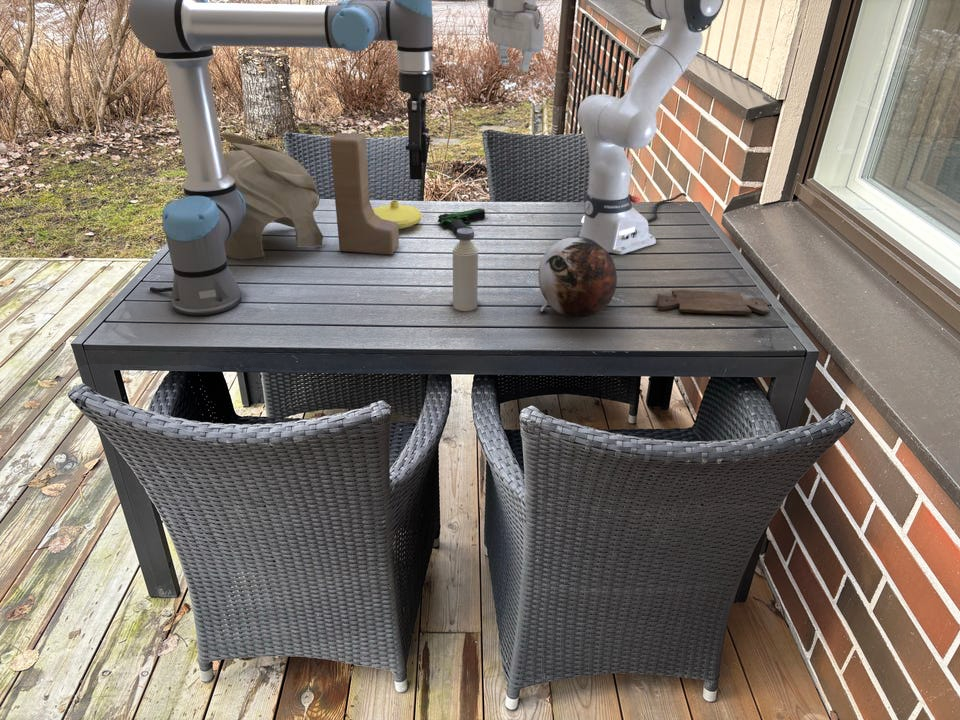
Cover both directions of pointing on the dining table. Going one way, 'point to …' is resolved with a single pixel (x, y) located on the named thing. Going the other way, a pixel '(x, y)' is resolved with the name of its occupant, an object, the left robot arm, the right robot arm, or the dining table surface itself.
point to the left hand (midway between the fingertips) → (418, 170)
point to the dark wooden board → (711, 302)
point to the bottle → (465, 276)
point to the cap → (465, 234)
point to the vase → (399, 214)
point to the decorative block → (357, 200)
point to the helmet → (270, 196)
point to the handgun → (460, 219)
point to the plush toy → (577, 277)
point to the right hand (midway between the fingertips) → (513, 68)
